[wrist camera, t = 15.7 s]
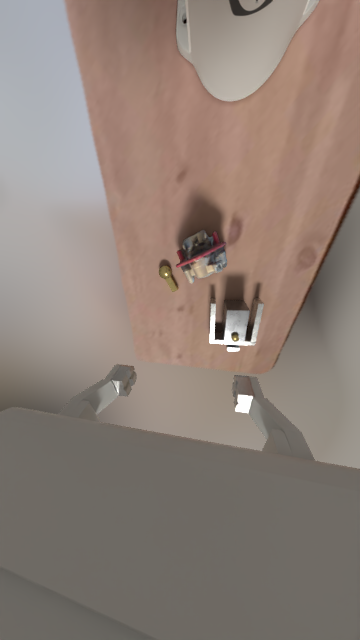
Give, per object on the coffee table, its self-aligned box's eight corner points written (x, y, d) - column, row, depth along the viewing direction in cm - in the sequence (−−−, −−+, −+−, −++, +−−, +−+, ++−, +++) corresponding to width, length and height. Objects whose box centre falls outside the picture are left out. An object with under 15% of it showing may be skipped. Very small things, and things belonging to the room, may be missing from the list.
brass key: (158, 268, 39) (156, 269, 38) (168, 262, 38) (166, 263, 36) (171, 291, 41) (170, 293, 40) (181, 286, 40) (180, 288, 39)
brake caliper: (214, 207, 29) (231, 246, 23) (224, 249, 38) (238, 284, 32) (165, 236, 33) (170, 275, 27) (185, 268, 42) (192, 302, 36)
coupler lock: (224, 299, 40) (227, 311, 33) (243, 299, 39) (250, 312, 32) (222, 330, 45) (224, 346, 38) (239, 330, 44) (244, 347, 37)
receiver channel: (210, 298, 40) (211, 308, 34) (258, 297, 38) (268, 308, 32) (209, 335, 46) (209, 349, 40) (251, 337, 44) (257, 352, 38)
